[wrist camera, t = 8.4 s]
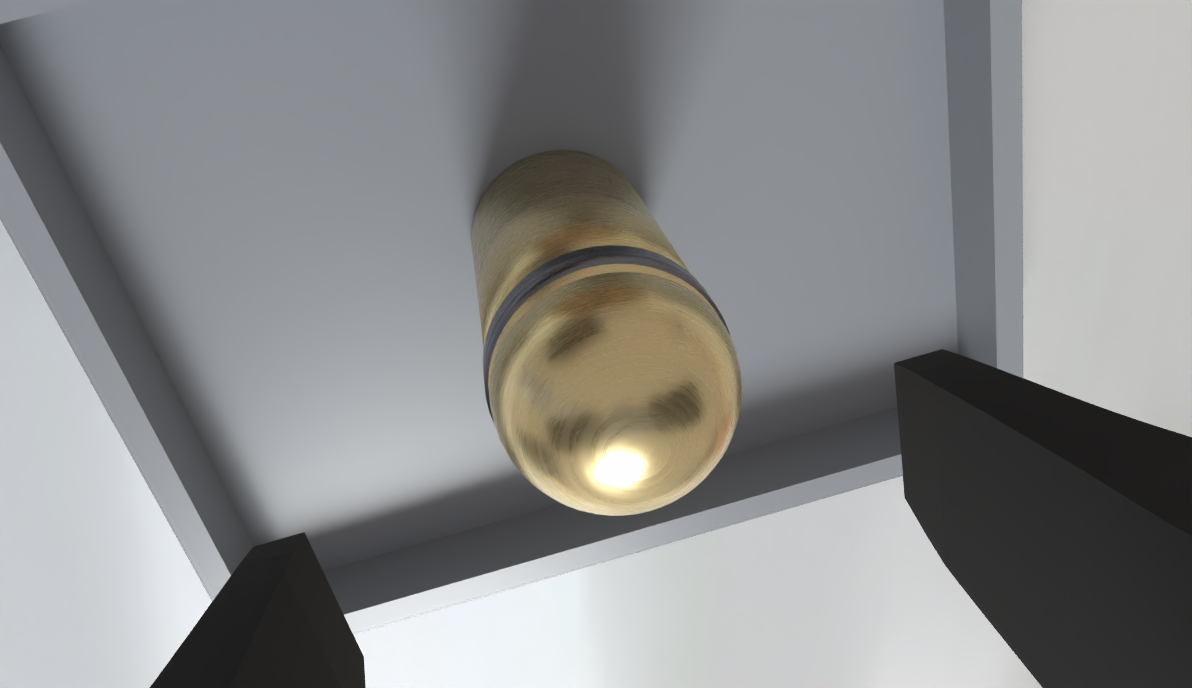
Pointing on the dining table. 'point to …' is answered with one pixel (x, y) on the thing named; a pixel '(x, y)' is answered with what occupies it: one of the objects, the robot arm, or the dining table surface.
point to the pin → (597, 340)
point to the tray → (445, 261)
